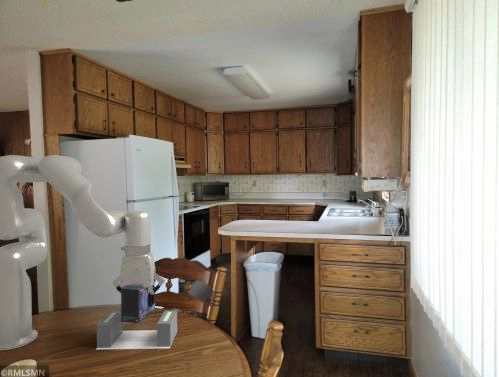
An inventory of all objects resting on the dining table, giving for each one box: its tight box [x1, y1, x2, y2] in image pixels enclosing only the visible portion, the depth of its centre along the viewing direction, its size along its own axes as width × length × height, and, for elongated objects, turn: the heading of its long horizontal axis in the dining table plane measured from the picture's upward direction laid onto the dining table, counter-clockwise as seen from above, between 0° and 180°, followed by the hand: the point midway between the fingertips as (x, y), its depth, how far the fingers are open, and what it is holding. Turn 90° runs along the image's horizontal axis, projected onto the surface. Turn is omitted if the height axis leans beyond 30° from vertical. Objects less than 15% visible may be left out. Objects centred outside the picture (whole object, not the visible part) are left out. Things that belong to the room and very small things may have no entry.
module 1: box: [96, 310, 124, 348], centre depth 102 cm, size 4×10×7 cm, turn 1°
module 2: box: [156, 310, 178, 348], centre depth 103 cm, size 4×10×7 cm, turn 1°
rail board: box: [95, 329, 178, 351], centre depth 103 cm, size 22×12×2 cm, turn 91°
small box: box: [120, 282, 156, 324], centre depth 102 cm, size 11×6×10 cm, turn 169°
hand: (139, 305), depth 102 cm, fingers closed on small box, 7 cm apart
